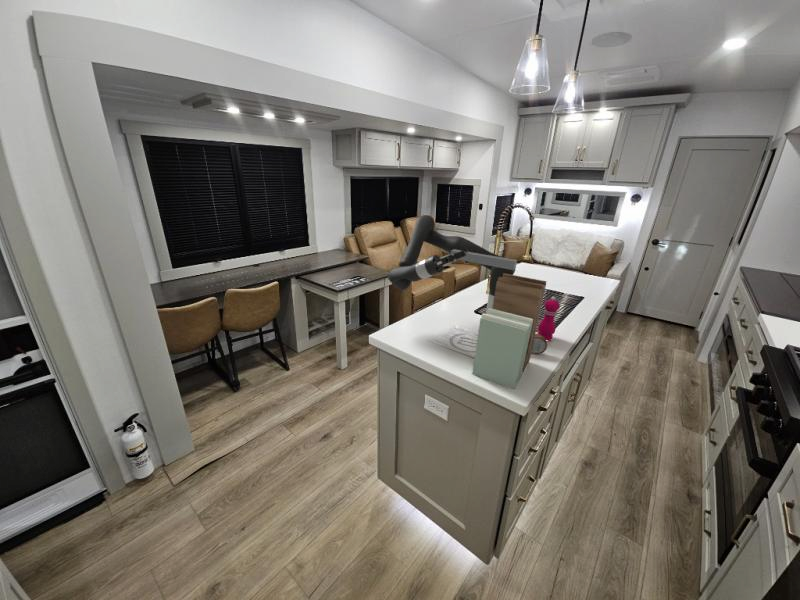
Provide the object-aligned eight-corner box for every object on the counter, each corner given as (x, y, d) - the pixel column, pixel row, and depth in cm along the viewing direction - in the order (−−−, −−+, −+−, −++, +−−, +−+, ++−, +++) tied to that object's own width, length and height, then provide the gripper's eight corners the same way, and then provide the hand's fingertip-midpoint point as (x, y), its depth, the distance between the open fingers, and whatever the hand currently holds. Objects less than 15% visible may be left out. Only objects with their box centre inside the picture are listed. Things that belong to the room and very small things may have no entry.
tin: (544, 353, 131) (548, 335, 128) (545, 357, 128) (550, 338, 125) (506, 347, 134) (509, 329, 132) (506, 350, 132) (510, 332, 129)
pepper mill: (555, 337, 145) (565, 296, 138) (550, 343, 140) (560, 300, 132) (539, 332, 149) (548, 292, 142) (533, 337, 144) (542, 296, 137)
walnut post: (491, 349, 131) (504, 272, 120) (529, 361, 124) (547, 280, 112) (484, 358, 124) (497, 277, 112) (523, 372, 117) (542, 286, 105)
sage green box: (480, 363, 121) (489, 307, 113) (521, 377, 114) (533, 318, 105) (472, 374, 114) (480, 314, 106) (514, 389, 106) (527, 327, 98)
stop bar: (453, 256, 124) (454, 249, 123) (515, 268, 112) (517, 260, 111) (450, 258, 122) (451, 250, 121) (513, 270, 109) (514, 261, 108)
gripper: (417, 261, 124) (454, 245, 113) (434, 255, 135) (469, 240, 124) (424, 279, 124) (462, 264, 114) (440, 272, 135) (476, 258, 125)
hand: (466, 252), depth 119 cm, fingers closed on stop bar, 3 cm apart
